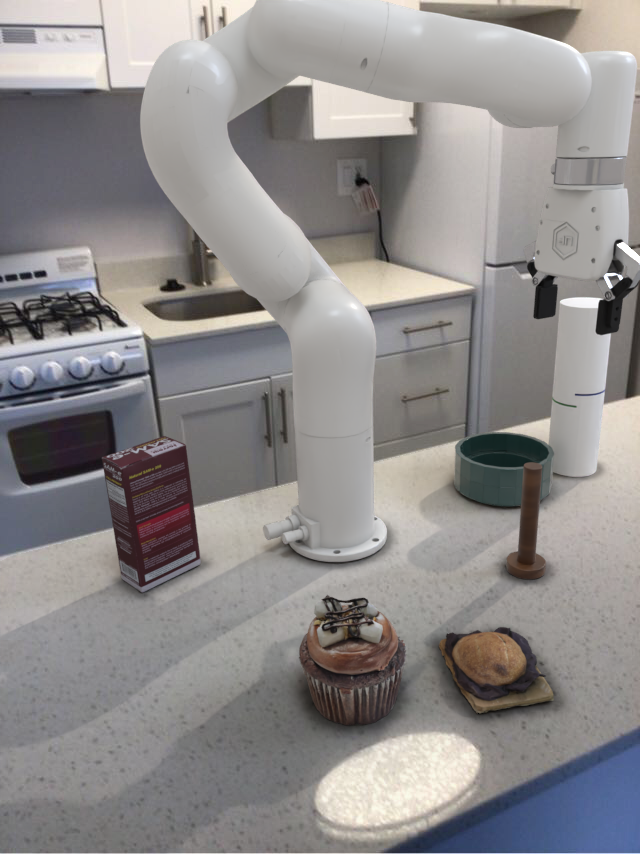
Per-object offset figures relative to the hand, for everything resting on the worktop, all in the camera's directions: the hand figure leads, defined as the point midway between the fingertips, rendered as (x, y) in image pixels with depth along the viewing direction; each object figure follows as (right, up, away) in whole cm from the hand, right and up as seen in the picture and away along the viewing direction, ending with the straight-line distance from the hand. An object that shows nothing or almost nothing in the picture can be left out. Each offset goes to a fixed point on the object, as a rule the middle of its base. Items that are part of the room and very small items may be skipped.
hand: (574, 325), depth 91 cm
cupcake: (-27, -37, -21) cm, 51 cm away
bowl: (-5, -21, +17) cm, 28 cm away
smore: (-14, -36, -19) cm, 43 cm away
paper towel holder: (-7, -29, -3) cm, 30 cm away
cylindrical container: (+7, -18, +23) cm, 31 cm away
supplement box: (-50, -30, 0) cm, 58 cm away
